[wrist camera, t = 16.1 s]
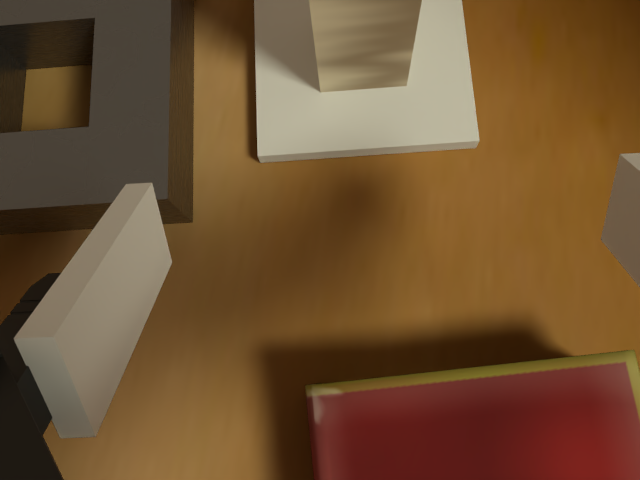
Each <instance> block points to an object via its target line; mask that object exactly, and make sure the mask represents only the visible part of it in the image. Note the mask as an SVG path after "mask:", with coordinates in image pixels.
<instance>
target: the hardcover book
mask: <svg viewBox="0 0 640 480" xmlns="http://www.w3.org/2000/svg"><path fill="white" fill-rule="evenodd" d="M305 391H306V401H307V412H308V422H309V432H310V443H311V453H312V464H313V474H314V480H640V371H639V367H638V363H637V359H636V355H635V351H634V350H627V351H618V352H609V353H600V354H591V355H581V356H572V357H563V358H554V359H545V360H536V361H526V362H517V363H508V364H499V365H490V366H481V367H471V368H462V369H453V370H444V371H435V372H426V373H416V374H407V375H398V376H389V377H380V378H371V379H361V380H352V381H343V382H334V383H325V384H322V383H318V384H310V385H305Z"/></svg>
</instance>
